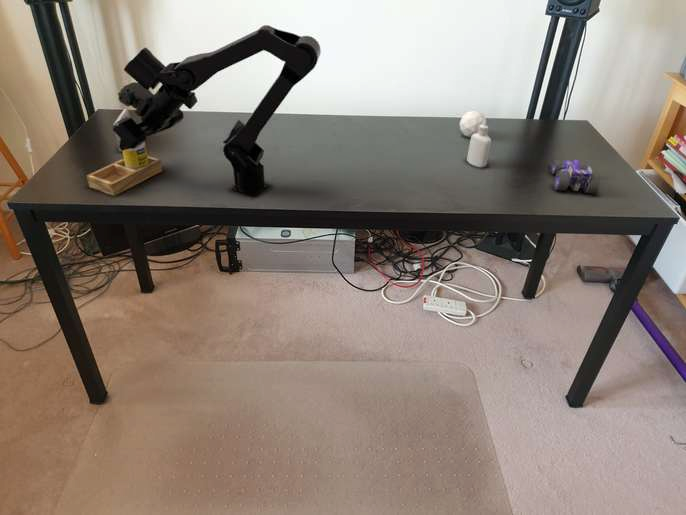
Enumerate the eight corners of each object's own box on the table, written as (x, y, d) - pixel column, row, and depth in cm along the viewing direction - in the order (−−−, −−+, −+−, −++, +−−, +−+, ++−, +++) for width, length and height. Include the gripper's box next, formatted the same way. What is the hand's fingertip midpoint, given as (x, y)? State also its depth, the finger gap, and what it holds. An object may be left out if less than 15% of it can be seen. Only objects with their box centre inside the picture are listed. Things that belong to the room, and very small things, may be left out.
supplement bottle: (143, 176, 128) (135, 138, 122) (122, 173, 128) (113, 135, 123) (153, 167, 132) (147, 130, 126) (134, 164, 133) (126, 127, 127)
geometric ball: (462, 144, 160) (450, 120, 159) (483, 132, 162) (472, 108, 160) (473, 141, 153) (461, 116, 152) (495, 128, 154) (484, 103, 153)
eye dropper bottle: (480, 159, 146) (489, 117, 139) (487, 168, 141) (496, 125, 134) (465, 159, 145) (473, 117, 138) (471, 168, 141) (480, 125, 134)
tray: (162, 170, 132) (160, 159, 130) (114, 196, 121) (111, 184, 119) (138, 163, 135) (136, 152, 133) (89, 187, 124) (86, 175, 122)
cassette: (124, 152, 140) (118, 124, 136) (117, 152, 140) (111, 124, 135) (135, 134, 150) (129, 108, 145) (128, 134, 150) (122, 107, 145)
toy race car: (581, 170, 142) (589, 148, 138) (595, 197, 130) (604, 173, 126) (545, 167, 143) (552, 144, 139) (556, 193, 131) (563, 169, 127)
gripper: (165, 62, 122) (134, 102, 131) (109, 85, 107) (80, 128, 117) (198, 101, 124) (166, 137, 134) (149, 128, 110) (117, 167, 119)
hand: (133, 141), depth 126 cm, fingers open, 9 cm apart
